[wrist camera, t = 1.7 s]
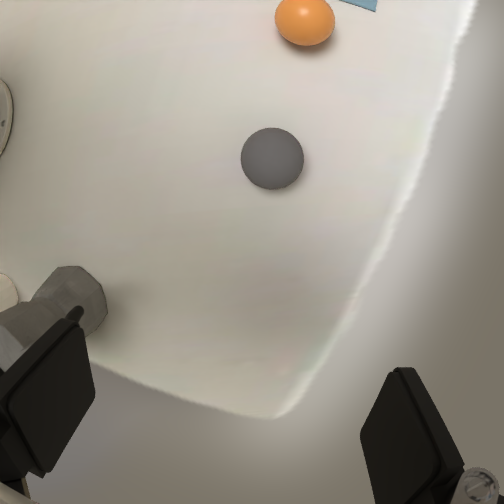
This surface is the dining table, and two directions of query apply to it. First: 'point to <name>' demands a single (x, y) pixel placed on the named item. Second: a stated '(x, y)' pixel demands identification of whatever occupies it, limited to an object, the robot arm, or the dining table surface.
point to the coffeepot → (51, 312)
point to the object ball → (305, 21)
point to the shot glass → (7, 293)
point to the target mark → (364, 3)
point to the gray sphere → (272, 158)
